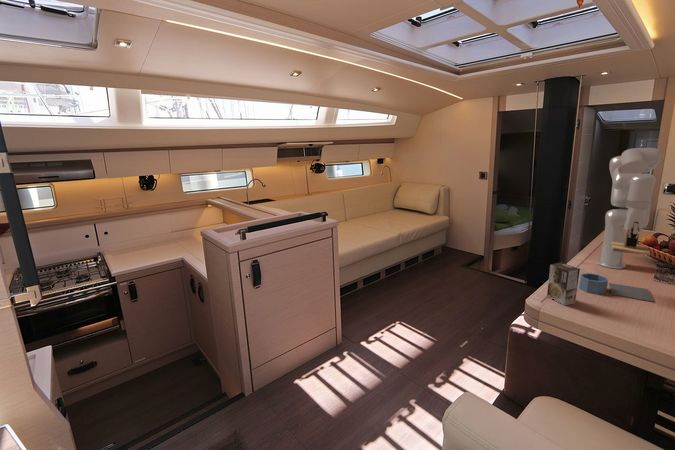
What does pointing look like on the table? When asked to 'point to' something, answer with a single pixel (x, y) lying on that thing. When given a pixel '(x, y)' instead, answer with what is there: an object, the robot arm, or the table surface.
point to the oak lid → (630, 247)
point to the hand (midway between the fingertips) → (630, 244)
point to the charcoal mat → (630, 292)
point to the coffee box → (563, 283)
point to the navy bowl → (593, 283)
